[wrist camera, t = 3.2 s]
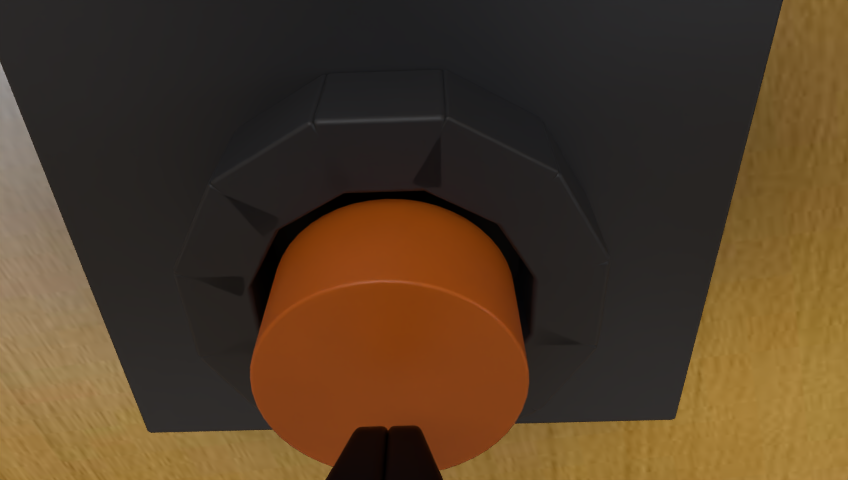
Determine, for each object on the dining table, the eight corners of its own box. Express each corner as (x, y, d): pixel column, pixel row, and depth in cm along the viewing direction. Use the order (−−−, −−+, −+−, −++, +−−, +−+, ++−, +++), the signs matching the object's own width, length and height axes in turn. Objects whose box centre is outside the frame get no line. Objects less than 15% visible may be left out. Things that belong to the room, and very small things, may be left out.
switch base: (740, -80, 12) (866, -18, 8) (649, 352, 17) (703, 491, 14) (34, -53, 12) (-115, 18, 9) (175, 364, 18) (118, 504, 14)
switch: (518, 192, 10) (538, 276, 9) (509, 379, 13) (523, 475, 11) (255, 201, 10) (222, 285, 9) (293, 385, 13) (273, 480, 11)
